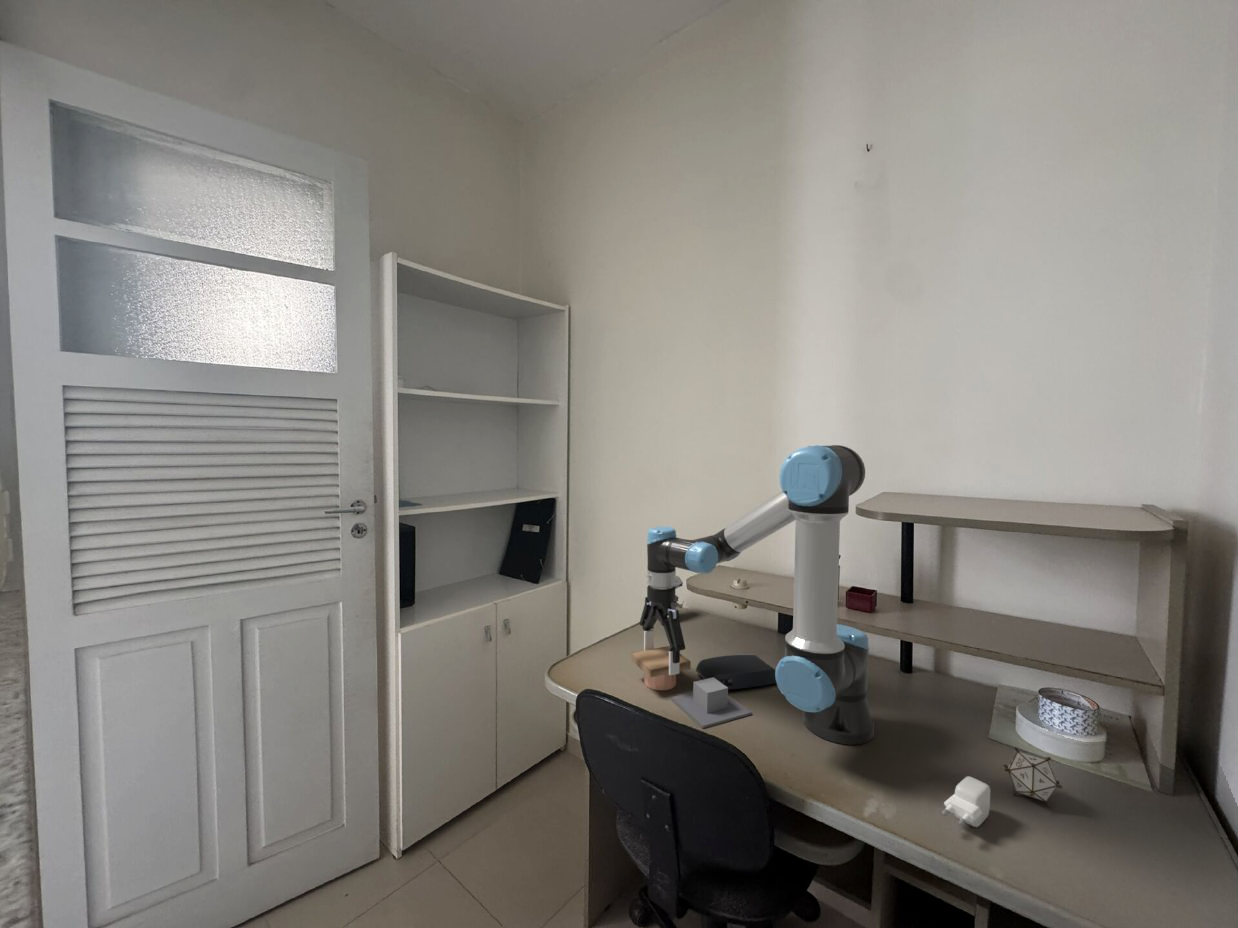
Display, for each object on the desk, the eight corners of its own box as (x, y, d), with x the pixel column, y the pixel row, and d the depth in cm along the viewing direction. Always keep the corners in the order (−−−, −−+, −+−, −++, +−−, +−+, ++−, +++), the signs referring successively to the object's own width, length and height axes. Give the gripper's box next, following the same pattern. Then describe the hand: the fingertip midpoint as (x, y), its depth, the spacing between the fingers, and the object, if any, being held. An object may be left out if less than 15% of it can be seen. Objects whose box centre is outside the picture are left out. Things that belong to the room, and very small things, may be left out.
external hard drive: (693, 670, 145) (694, 656, 145) (754, 664, 151) (755, 650, 150) (715, 693, 133) (716, 677, 132) (780, 685, 138) (781, 670, 138)
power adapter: (967, 847, 84) (968, 812, 84) (935, 828, 88) (936, 795, 88) (994, 818, 91) (995, 786, 90) (963, 801, 95) (964, 771, 94)
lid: (690, 668, 137) (690, 661, 137) (650, 677, 132) (650, 669, 131) (669, 652, 147) (669, 645, 146) (631, 660, 142) (631, 653, 141)
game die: (1035, 823, 95) (1040, 800, 89) (990, 780, 102) (992, 756, 96) (1071, 794, 96) (1078, 770, 90) (1024, 754, 103) (1028, 729, 98)
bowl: (681, 686, 137) (681, 667, 137) (654, 692, 134) (654, 673, 134) (665, 672, 145) (665, 655, 145) (639, 678, 141) (639, 660, 141)
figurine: (689, 619, 187) (689, 578, 186) (663, 625, 181) (664, 583, 180) (673, 611, 195) (673, 572, 194) (648, 617, 189) (649, 576, 188)
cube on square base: (751, 714, 124) (752, 691, 123) (702, 728, 118) (703, 704, 117) (716, 688, 136) (717, 667, 136) (670, 699, 130) (671, 678, 130)
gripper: (628, 575, 147) (627, 648, 149) (673, 600, 125) (673, 686, 126) (651, 572, 151) (650, 643, 152) (699, 596, 128) (698, 680, 129)
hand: (660, 663), depth 139 cm, fingers open, 13 cm apart
